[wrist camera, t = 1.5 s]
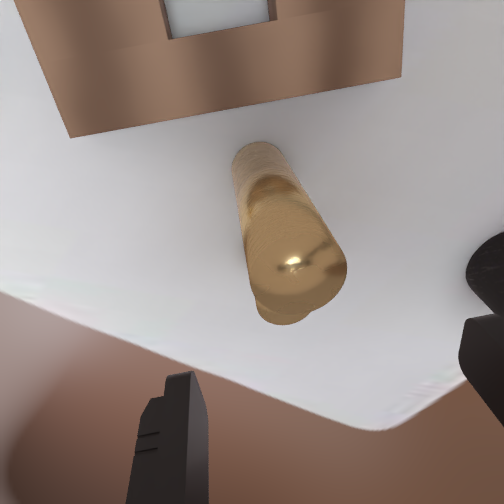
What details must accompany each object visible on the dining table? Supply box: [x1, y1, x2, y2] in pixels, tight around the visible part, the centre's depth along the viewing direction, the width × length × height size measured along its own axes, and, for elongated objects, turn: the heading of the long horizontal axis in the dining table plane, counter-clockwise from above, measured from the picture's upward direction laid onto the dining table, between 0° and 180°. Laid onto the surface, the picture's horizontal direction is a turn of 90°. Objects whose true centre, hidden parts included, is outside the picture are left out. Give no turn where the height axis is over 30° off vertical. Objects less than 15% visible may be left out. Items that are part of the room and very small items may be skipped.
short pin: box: [255, 297, 310, 325], centre depth 28 cm, size 4×4×7 cm
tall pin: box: [232, 142, 347, 315], centre depth 21 cm, size 4×4×14 cm
